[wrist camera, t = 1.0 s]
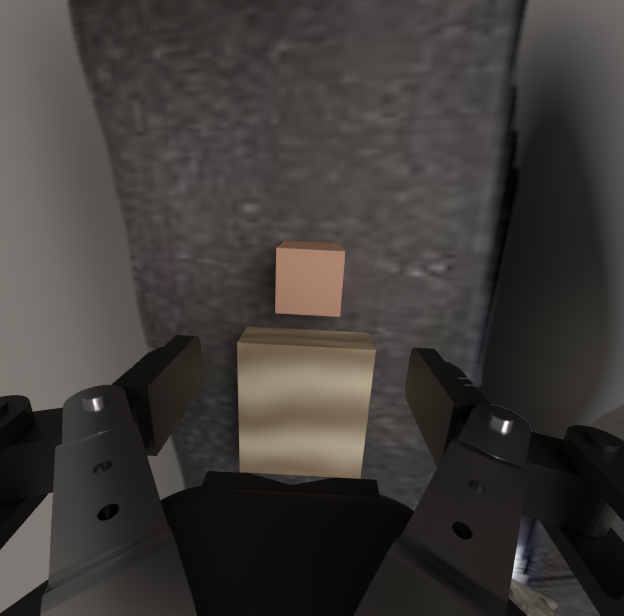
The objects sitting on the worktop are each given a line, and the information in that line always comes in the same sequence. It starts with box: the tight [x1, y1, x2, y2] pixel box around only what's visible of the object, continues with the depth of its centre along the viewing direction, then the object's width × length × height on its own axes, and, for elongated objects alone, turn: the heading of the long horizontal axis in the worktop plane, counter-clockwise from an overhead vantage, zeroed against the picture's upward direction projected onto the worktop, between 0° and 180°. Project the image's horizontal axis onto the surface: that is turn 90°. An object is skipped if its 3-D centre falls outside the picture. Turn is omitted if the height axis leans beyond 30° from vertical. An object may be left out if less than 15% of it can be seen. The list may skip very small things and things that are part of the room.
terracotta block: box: [275, 240, 345, 317], centre depth 26 cm, size 5×5×6 cm
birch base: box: [237, 326, 376, 478], centre depth 31 cm, size 14×12×4 cm
